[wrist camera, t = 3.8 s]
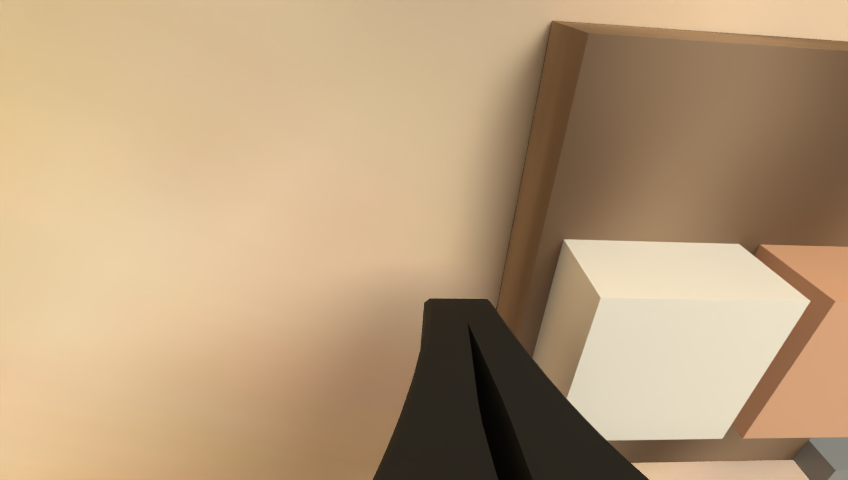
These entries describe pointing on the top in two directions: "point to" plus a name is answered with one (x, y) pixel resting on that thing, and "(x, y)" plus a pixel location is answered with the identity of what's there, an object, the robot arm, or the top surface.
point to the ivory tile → (662, 334)
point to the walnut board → (678, 165)
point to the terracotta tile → (805, 351)
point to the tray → (824, 458)
